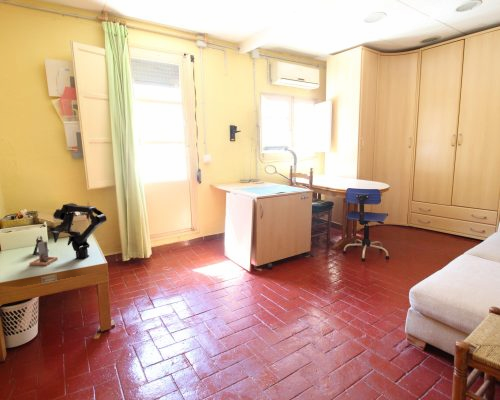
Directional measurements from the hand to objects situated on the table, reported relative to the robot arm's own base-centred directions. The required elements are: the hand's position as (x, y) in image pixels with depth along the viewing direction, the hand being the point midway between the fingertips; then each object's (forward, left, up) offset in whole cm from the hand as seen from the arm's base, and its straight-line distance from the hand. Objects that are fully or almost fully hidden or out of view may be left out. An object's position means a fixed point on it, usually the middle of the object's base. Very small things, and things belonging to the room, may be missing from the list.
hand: (61, 243), depth 200 cm
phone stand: (+23, -9, -11) cm, 27 cm away
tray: (+9, +7, -11) cm, 15 cm away
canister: (+8, +7, -10) cm, 15 cm away
